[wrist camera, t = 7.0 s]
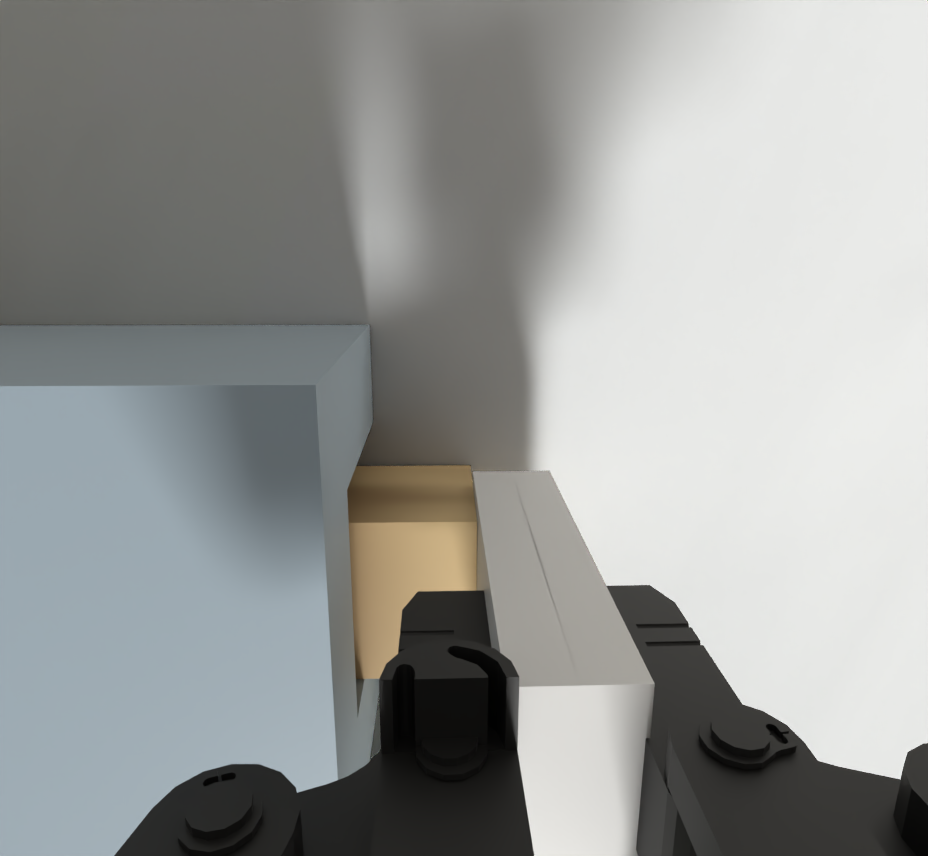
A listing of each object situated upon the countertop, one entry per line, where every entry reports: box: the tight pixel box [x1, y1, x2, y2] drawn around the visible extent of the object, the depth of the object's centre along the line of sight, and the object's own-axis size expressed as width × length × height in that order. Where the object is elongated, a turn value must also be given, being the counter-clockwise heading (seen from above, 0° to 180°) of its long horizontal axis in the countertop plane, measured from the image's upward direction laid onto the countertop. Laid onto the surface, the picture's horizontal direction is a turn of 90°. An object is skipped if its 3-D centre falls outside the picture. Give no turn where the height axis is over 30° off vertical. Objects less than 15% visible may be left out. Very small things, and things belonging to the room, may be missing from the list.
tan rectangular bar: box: [347, 465, 477, 679], centre depth 13 cm, size 7×3×3 cm, turn 90°
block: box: [0, 325, 379, 856], centre depth 11 cm, size 8×8×6 cm
